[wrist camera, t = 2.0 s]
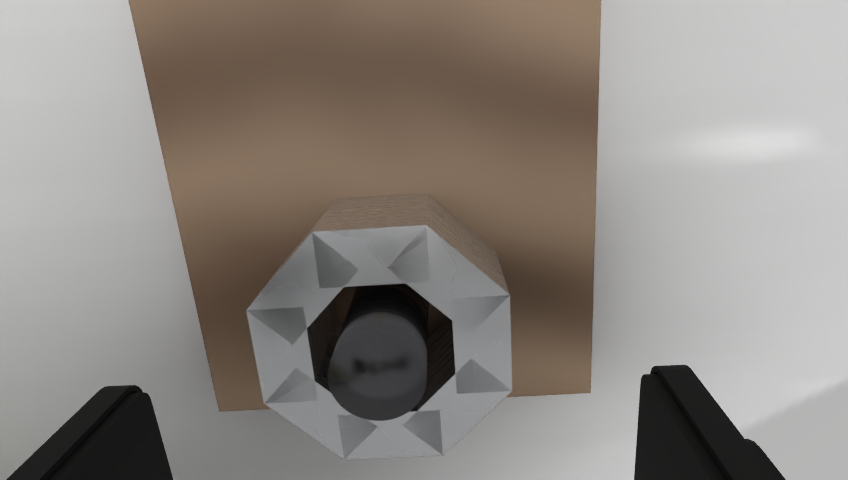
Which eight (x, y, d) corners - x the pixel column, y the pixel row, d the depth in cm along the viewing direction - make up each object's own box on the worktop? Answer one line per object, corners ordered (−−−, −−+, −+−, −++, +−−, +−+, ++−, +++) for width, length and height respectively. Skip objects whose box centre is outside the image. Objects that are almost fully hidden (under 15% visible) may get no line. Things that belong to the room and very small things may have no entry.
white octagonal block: (404, 421, 19) (397, 497, 16) (246, 305, 18) (203, 361, 14) (540, 288, 17) (565, 341, 14) (377, 149, 16) (362, 171, 13)
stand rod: (396, 343, 18) (383, 437, 14) (340, 300, 18) (307, 382, 13) (444, 294, 18) (446, 374, 13) (387, 248, 17) (370, 315, 12)
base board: (581, 373, 20) (590, 392, 19) (231, 391, 20) (219, 411, 19) (596, -373, 13) (612, -414, 12) (82, -318, 14) (50, -353, 13)
